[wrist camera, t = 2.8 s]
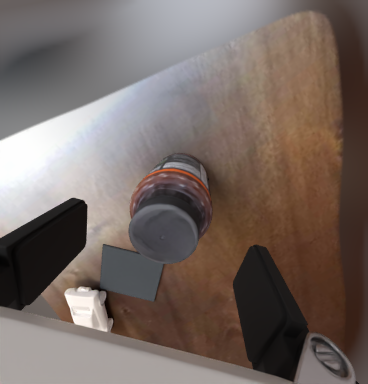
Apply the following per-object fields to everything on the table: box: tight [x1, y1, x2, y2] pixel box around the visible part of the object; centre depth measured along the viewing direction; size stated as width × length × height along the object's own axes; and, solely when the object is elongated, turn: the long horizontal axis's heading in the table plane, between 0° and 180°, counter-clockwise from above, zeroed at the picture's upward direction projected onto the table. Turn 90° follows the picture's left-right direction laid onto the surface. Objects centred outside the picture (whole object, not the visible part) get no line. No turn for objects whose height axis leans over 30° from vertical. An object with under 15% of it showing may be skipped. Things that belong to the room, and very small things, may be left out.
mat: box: [100, 244, 164, 302], centre depth 26 cm, size 9×9×1 cm
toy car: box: [65, 286, 113, 333], centre depth 28 cm, size 6×12×3 cm, turn 1°
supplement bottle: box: [129, 153, 212, 264], centre depth 15 cm, size 6×6×11 cm
